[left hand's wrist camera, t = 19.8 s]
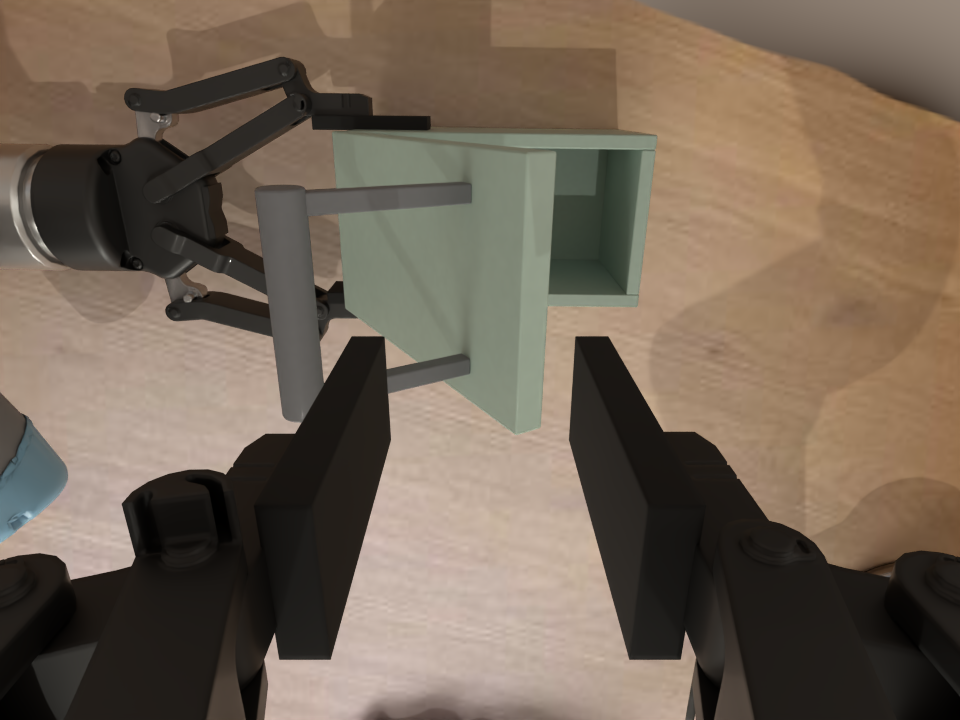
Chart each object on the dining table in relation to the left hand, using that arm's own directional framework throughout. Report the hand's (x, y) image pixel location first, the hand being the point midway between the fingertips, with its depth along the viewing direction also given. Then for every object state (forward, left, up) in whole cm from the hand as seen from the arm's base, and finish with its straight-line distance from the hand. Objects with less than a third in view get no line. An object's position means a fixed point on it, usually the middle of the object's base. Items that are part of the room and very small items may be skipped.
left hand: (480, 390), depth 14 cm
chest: (-1, -1, -31) cm, 31 cm away
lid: (+2, +1, -14) cm, 14 cm away
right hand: (+3, +1, -25) cm, 25 cm away
